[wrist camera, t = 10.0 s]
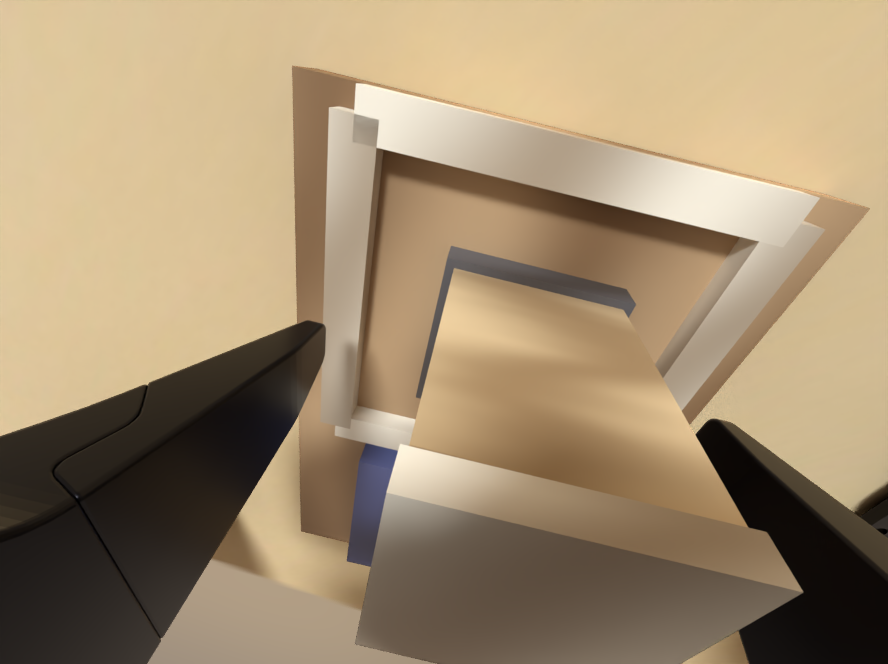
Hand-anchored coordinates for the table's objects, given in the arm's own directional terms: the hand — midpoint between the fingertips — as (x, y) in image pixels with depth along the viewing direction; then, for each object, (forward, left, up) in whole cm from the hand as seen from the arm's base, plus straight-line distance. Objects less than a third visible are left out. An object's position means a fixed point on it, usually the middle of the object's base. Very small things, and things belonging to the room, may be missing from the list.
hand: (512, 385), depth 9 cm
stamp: (0, 0, -2) cm, 2 cm away
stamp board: (0, +4, -3) cm, 5 cm away
